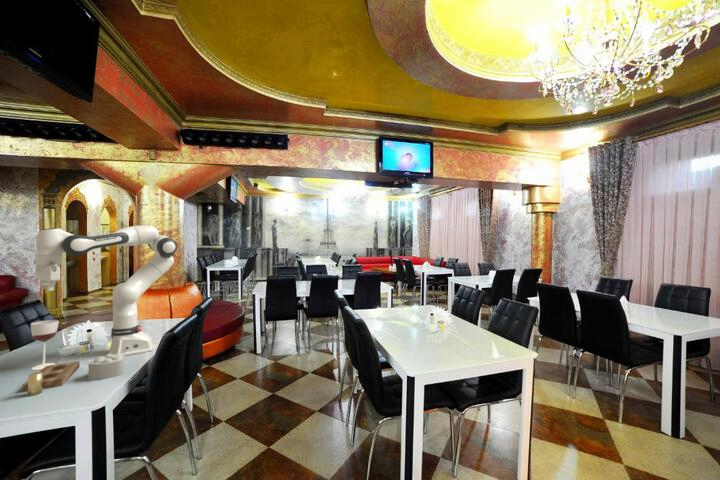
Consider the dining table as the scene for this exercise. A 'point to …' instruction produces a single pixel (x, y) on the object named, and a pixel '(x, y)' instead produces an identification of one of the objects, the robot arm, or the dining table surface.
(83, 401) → the dining table surface
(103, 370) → the lumpy-topped squat cylinder
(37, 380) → the bushing
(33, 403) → the dining table surface
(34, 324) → the wineglass
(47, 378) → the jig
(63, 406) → the dining table surface
